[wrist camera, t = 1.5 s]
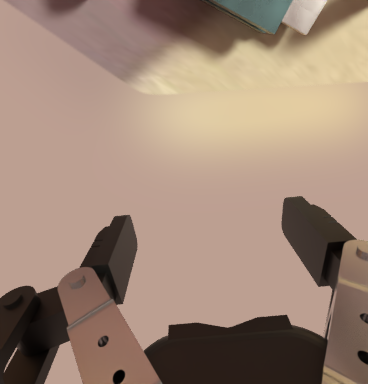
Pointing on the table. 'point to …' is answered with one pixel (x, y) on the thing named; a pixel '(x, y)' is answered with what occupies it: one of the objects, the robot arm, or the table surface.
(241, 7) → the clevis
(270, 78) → the table surface
